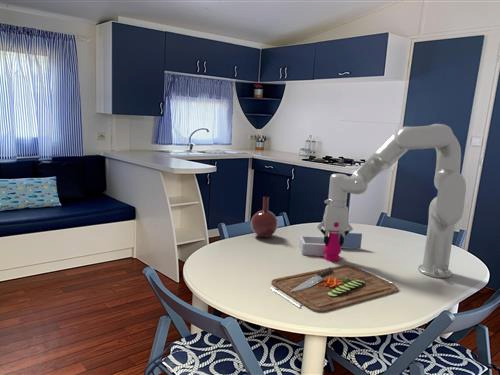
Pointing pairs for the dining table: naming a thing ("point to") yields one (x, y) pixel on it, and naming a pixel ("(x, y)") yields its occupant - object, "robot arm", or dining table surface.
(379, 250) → the dining table surface
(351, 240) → the panel
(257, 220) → the round-bottom flask
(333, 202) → the robot arm
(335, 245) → the pepper mill
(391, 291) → the chopping board
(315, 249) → the grey open box
